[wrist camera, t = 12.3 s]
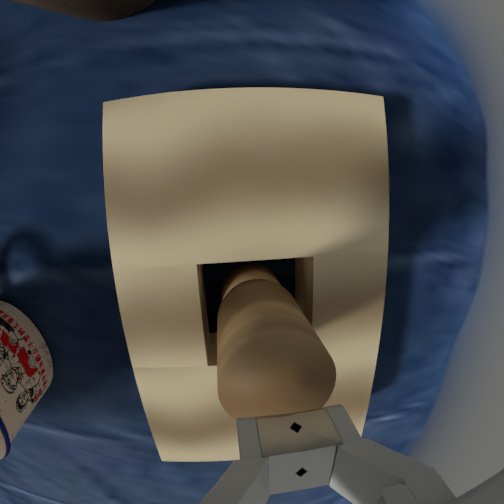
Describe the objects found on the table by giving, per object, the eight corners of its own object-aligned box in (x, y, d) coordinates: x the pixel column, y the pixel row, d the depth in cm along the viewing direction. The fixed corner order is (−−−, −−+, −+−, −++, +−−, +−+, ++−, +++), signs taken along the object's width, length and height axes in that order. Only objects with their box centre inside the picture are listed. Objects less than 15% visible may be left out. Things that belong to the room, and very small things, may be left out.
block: (125, 118, 16) (103, 102, 12) (353, 111, 18) (383, 96, 14) (167, 424, 21) (161, 461, 17) (343, 407, 22) (360, 439, 18)
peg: (215, 261, 19) (211, 340, 9) (281, 257, 19) (340, 328, 9) (220, 322, 20) (223, 433, 10) (282, 317, 20) (331, 420, 10)
